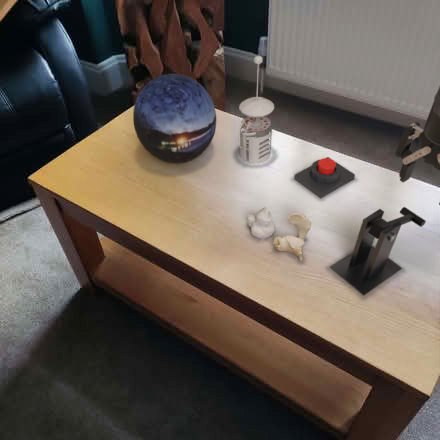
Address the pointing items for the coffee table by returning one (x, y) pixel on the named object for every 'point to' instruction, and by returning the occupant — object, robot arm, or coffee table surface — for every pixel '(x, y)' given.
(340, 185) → the control block
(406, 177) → the robot arm
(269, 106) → the french press
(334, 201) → the coffee table surface
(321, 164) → the button
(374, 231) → the lever
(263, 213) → the white lumpy piece
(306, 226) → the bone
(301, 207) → the coffee table surface
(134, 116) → the decorative sphere
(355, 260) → the bracket
